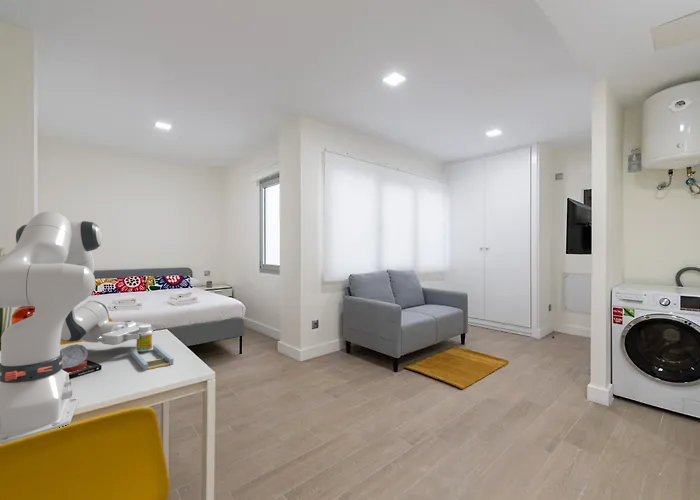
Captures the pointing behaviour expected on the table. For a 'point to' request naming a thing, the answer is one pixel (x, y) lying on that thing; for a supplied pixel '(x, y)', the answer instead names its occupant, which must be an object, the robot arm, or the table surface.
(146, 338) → the supplement bottle
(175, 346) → the table surface
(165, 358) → the channel
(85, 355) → the canned food
